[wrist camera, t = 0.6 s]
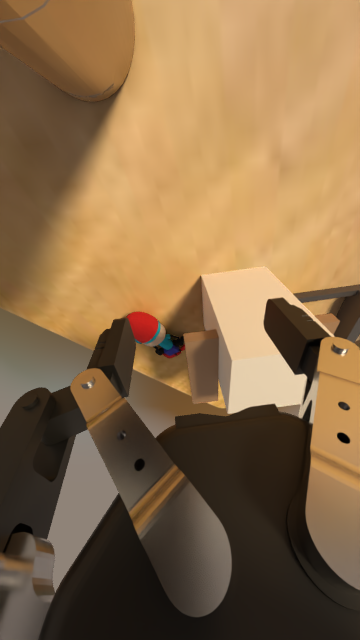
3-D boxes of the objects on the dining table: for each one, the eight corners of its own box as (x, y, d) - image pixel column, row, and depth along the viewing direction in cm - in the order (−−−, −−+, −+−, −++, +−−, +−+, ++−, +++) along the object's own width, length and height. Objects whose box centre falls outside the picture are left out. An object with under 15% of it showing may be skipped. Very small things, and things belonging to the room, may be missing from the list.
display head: (175, 278, 31) (187, 366, 18) (290, 262, 31) (388, 339, 18) (188, 366, 45) (199, 452, 32) (267, 355, 45) (312, 437, 32)
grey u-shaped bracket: (271, 355, 45) (280, 369, 42) (288, 294, 35) (301, 307, 32) (329, 347, 45) (342, 361, 42) (363, 284, 35) (383, 296, 32)
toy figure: (194, 335, 42) (145, 295, 32) (198, 356, 38) (145, 318, 28) (165, 350, 44) (112, 316, 35) (167, 370, 41) (109, 340, 31)
